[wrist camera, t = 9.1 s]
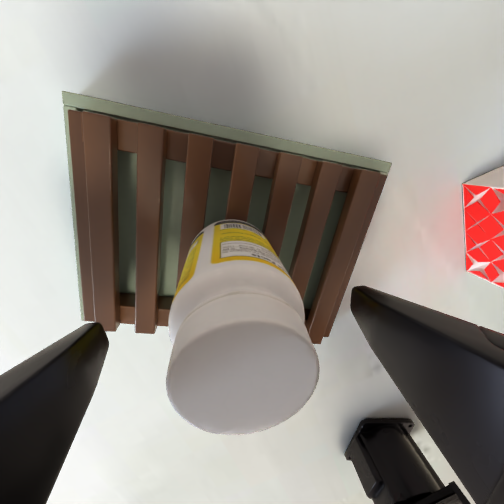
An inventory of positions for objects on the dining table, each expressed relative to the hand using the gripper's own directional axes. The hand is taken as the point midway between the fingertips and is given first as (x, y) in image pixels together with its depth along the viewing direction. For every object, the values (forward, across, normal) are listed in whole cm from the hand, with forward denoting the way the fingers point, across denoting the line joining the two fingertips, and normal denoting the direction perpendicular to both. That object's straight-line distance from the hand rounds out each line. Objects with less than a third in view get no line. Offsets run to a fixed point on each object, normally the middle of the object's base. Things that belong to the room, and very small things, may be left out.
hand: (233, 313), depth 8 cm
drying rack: (+9, 0, 0) cm, 9 cm away
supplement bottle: (+6, 0, 0) cm, 6 cm away
